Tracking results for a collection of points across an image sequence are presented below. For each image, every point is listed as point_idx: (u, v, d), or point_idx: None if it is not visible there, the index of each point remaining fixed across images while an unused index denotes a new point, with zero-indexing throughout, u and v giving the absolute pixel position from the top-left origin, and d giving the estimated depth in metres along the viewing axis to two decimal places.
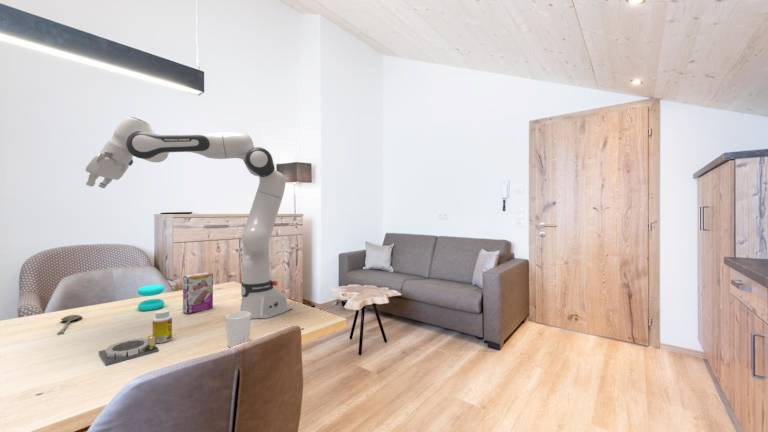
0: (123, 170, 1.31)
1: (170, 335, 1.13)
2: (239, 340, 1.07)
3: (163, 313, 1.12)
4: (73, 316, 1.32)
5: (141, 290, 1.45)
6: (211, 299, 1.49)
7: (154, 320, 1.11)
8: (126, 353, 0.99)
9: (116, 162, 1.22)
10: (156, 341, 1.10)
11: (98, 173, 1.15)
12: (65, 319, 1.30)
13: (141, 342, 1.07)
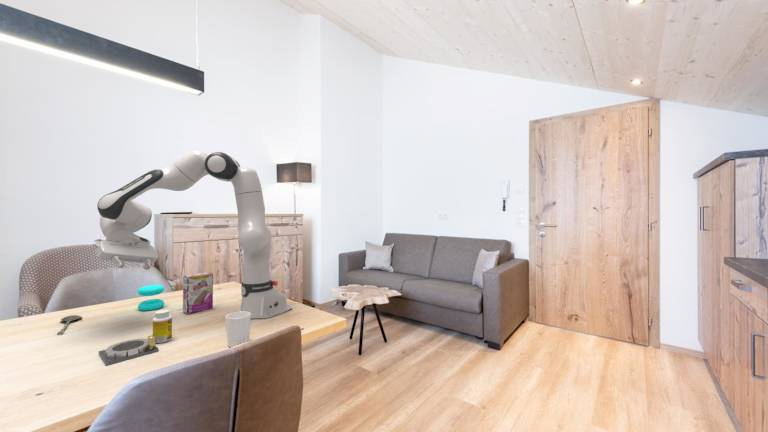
0: (150, 249, 1.33)
1: (170, 335, 1.13)
2: (239, 340, 1.07)
3: (163, 313, 1.12)
4: (73, 316, 1.32)
5: (141, 290, 1.45)
6: (211, 299, 1.49)
7: (154, 320, 1.11)
8: (126, 353, 0.99)
9: (121, 242, 1.24)
10: (156, 341, 1.10)
11: (107, 251, 1.16)
12: (65, 319, 1.30)
13: (141, 342, 1.07)
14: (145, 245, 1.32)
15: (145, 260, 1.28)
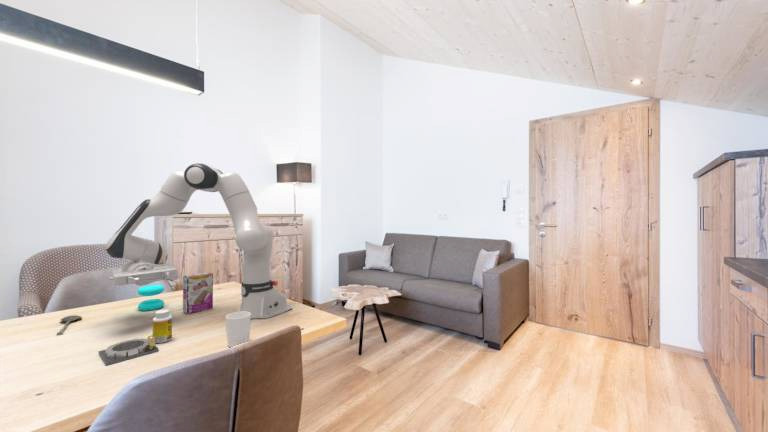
0: (168, 267, 1.32)
1: (170, 335, 1.13)
2: (239, 340, 1.07)
3: (163, 313, 1.12)
4: (73, 316, 1.32)
5: (141, 290, 1.45)
6: (211, 299, 1.49)
7: (154, 320, 1.11)
8: (126, 353, 0.99)
9: (136, 270, 1.26)
10: (156, 341, 1.10)
11: (118, 275, 1.17)
12: (64, 319, 1.30)
13: (141, 342, 1.07)
14: (162, 266, 1.32)
15: None
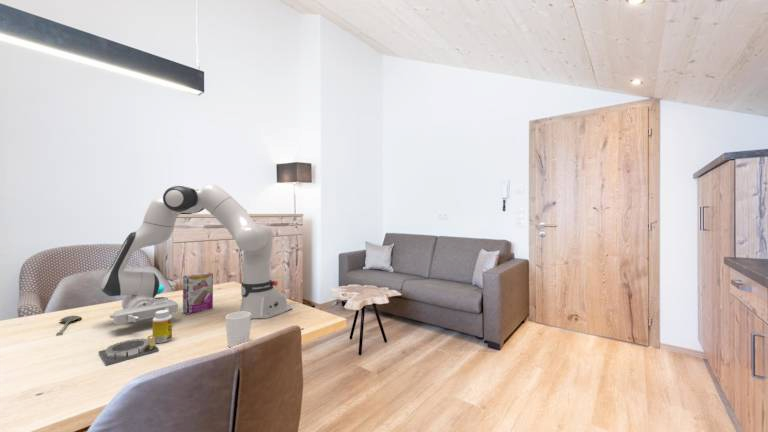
0: (168, 302, 1.33)
1: (170, 335, 1.13)
2: (239, 340, 1.07)
3: (163, 313, 1.12)
4: (72, 317, 1.32)
5: None
6: (211, 299, 1.49)
7: (154, 320, 1.11)
8: (126, 353, 0.99)
9: (136, 306, 1.26)
10: (156, 341, 1.10)
11: (118, 313, 1.18)
12: (64, 320, 1.29)
13: (141, 342, 1.07)
14: (162, 301, 1.32)
15: None
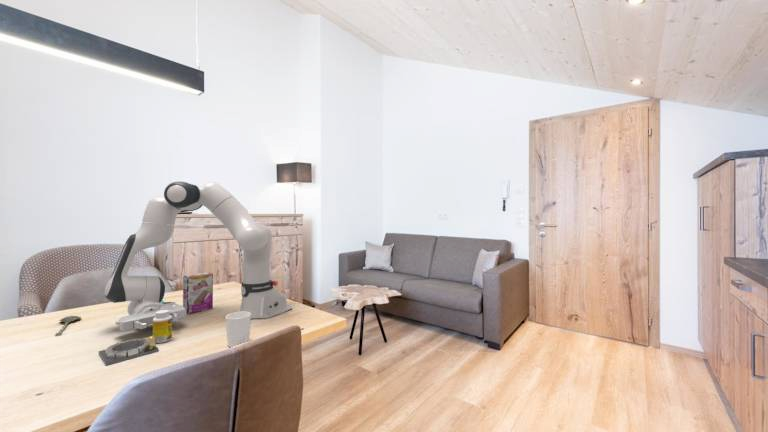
0: (176, 307, 1.27)
1: (170, 335, 1.13)
2: (239, 340, 1.07)
3: (163, 313, 1.12)
4: (72, 317, 1.31)
5: None
6: (211, 299, 1.49)
7: (154, 320, 1.11)
8: (126, 353, 0.99)
9: (143, 311, 1.21)
10: (156, 341, 1.10)
11: (125, 320, 1.12)
12: (64, 320, 1.29)
13: (141, 342, 1.07)
14: (169, 306, 1.27)
15: (172, 315, 1.22)
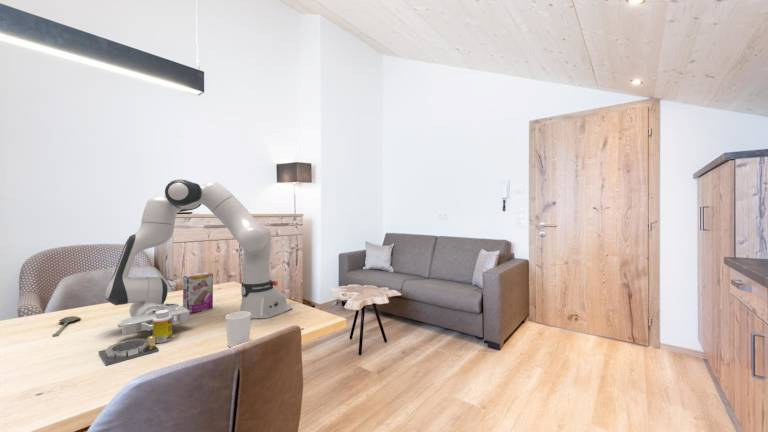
0: (179, 309, 1.24)
1: (170, 335, 1.13)
2: (239, 340, 1.07)
3: (163, 313, 1.12)
4: (71, 317, 1.31)
5: None
6: (211, 299, 1.49)
7: (154, 320, 1.11)
8: (126, 353, 0.99)
9: (145, 313, 1.18)
10: (156, 341, 1.10)
11: (127, 323, 1.10)
12: (63, 320, 1.28)
13: (141, 342, 1.07)
14: (173, 308, 1.24)
15: (172, 319, 1.18)
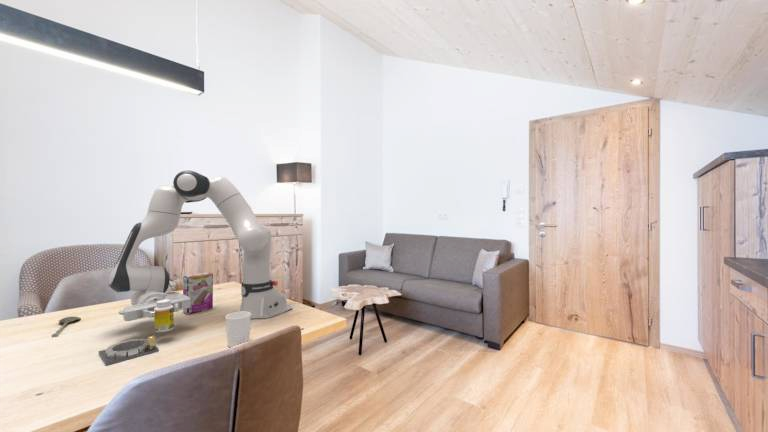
0: (180, 296, 1.24)
1: (172, 324, 1.13)
2: (239, 340, 1.07)
3: (164, 302, 1.12)
4: (71, 318, 1.30)
5: None
6: (211, 299, 1.49)
7: (155, 309, 1.11)
8: (126, 353, 0.99)
9: (147, 301, 1.18)
10: (158, 330, 1.10)
11: (129, 310, 1.10)
12: (62, 321, 1.28)
13: (141, 342, 1.07)
14: (174, 296, 1.24)
15: (173, 306, 1.18)
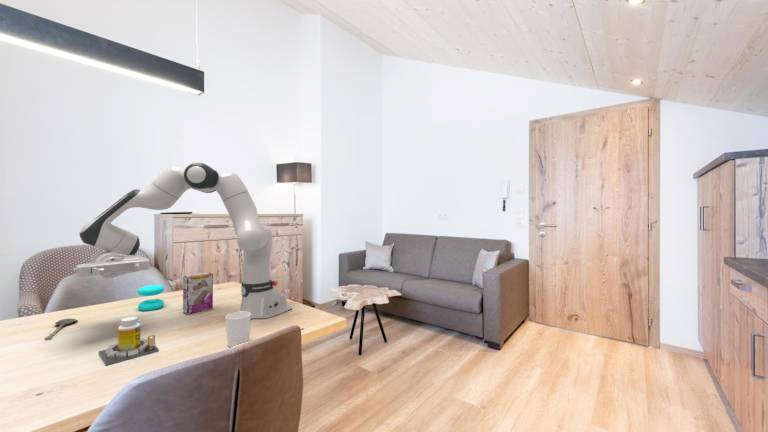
0: (140, 258, 1.23)
1: (138, 345, 1.03)
2: (239, 340, 1.07)
3: (130, 321, 1.02)
4: (67, 320, 1.28)
5: (141, 290, 1.45)
6: (211, 299, 1.49)
7: (119, 328, 1.00)
8: (126, 353, 0.99)
9: (103, 260, 1.17)
10: None
11: (82, 266, 1.08)
12: (58, 323, 1.26)
13: (141, 342, 1.07)
14: (133, 257, 1.23)
15: None
